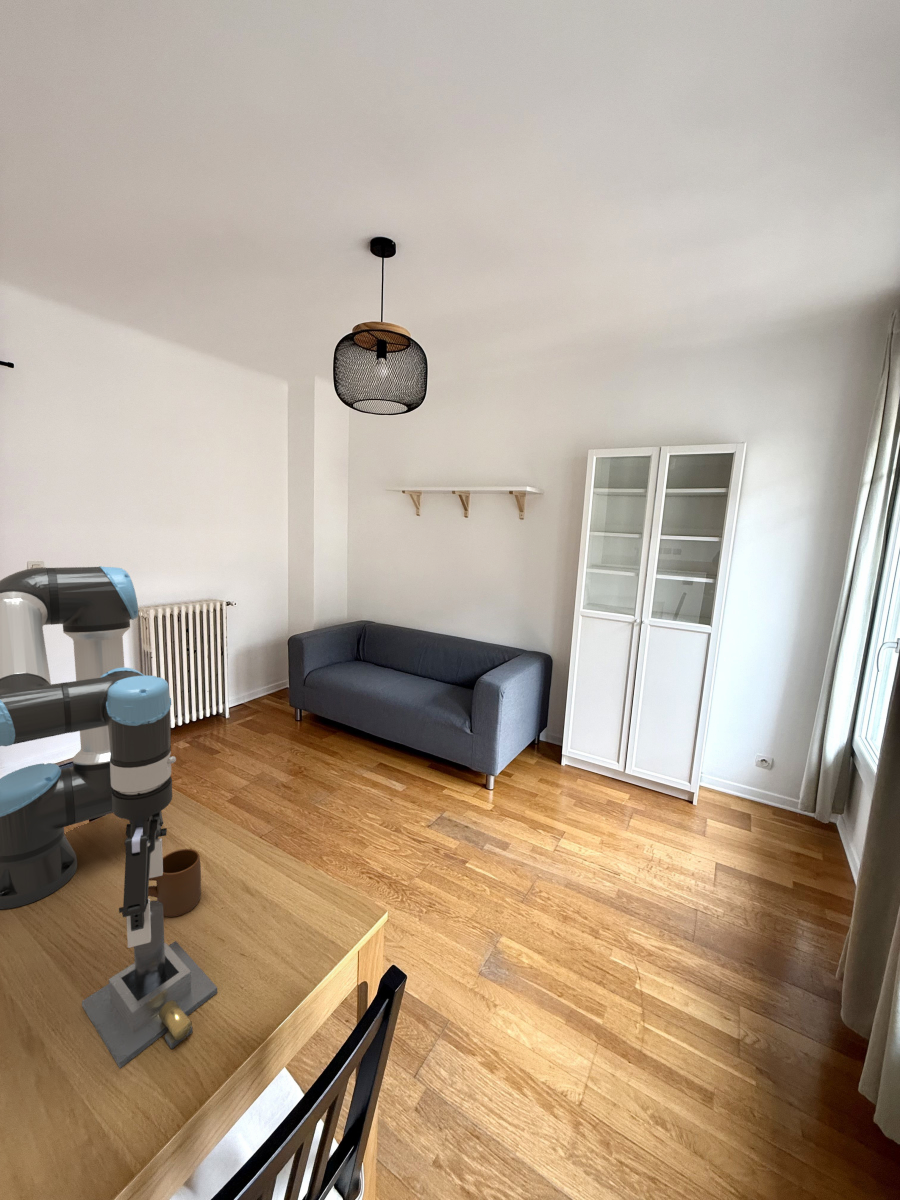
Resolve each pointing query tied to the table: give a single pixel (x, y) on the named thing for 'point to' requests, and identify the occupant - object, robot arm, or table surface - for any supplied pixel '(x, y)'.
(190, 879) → the mug
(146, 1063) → the table surface
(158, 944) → the dark cylinder
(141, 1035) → the open box on baseplate
